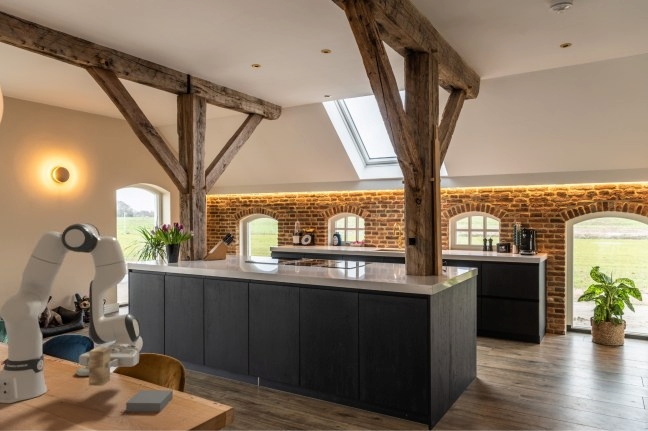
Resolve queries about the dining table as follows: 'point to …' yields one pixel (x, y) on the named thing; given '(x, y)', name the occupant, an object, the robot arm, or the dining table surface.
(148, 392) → the plinth
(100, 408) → the dining table surface
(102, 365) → the oak block
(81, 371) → the fossil
